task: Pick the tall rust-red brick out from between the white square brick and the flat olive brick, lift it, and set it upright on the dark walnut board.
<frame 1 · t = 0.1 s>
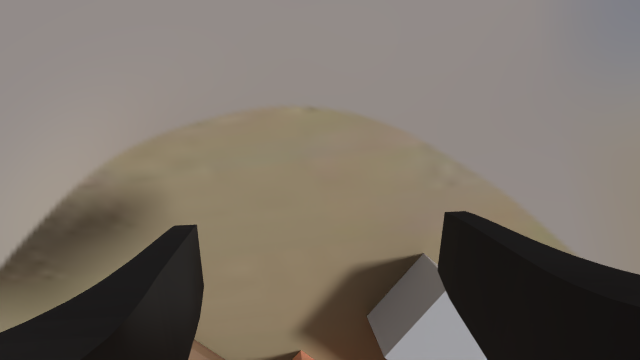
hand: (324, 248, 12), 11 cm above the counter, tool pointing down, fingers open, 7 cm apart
white square brick: (423, 307, 25), on the counter
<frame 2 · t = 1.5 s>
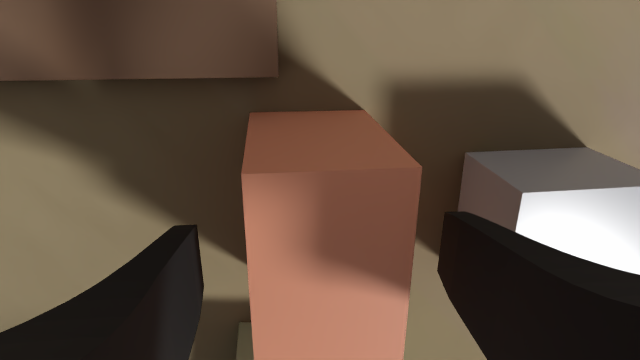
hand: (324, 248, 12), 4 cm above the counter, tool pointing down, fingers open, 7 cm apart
flat olive brick: (308, 354, 19), on the counter
white square brick: (514, 206, 17), on the counter
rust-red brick: (308, 194, 16), on the counter
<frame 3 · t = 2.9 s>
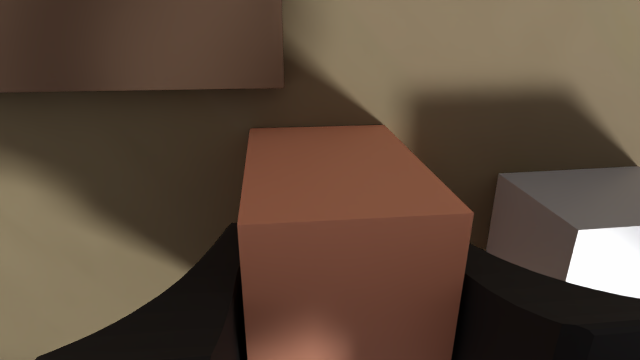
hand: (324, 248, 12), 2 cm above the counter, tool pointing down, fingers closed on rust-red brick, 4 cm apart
white square brick: (552, 233, 15), on the counter
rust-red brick: (317, 222, 14), on the counter, touching gripper
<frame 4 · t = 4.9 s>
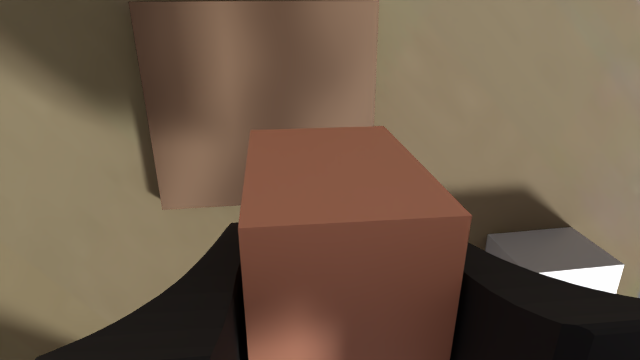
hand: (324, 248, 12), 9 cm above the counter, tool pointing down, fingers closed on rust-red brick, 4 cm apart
white square brick: (521, 266, 25), on the counter
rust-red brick: (318, 223, 14), point 7 cm above the counter, touching gripper
walnut board: (264, 107, 19), on the counter
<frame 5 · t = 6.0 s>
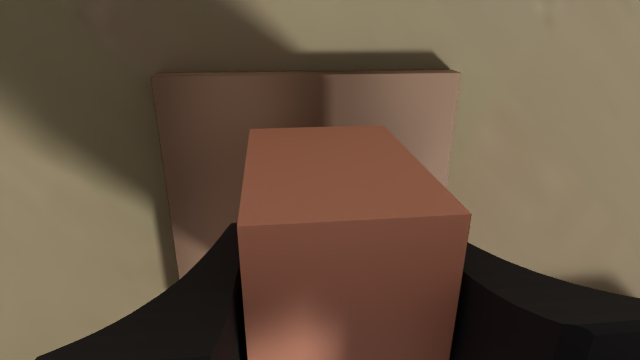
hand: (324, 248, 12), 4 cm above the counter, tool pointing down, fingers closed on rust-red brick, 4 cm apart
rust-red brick: (317, 222, 14), point 2 cm above the counter, touching gripper
walnut board: (310, 193, 16), on the counter
when the fingers open (4 cm above the counter, at t = 6.9 s): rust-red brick drops 1 cm, resting on walnut board.
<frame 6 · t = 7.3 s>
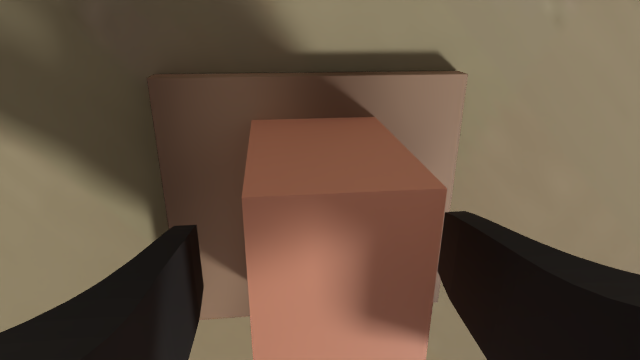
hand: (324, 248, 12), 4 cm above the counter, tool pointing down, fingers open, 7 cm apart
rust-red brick: (314, 208, 15), point 1 cm above the counter, touching walnut board
walnut board: (311, 197, 16), on the counter
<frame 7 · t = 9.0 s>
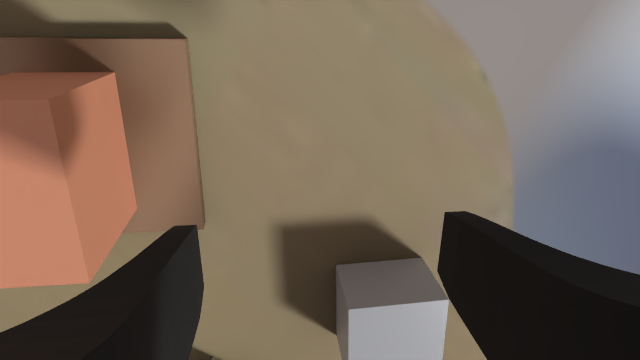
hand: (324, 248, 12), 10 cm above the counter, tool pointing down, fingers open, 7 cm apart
white square brick: (377, 296, 25), on the counter
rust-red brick: (79, 145, 19), point 1 cm above the counter, touching walnut board
walnut board: (86, 139, 20), on the counter
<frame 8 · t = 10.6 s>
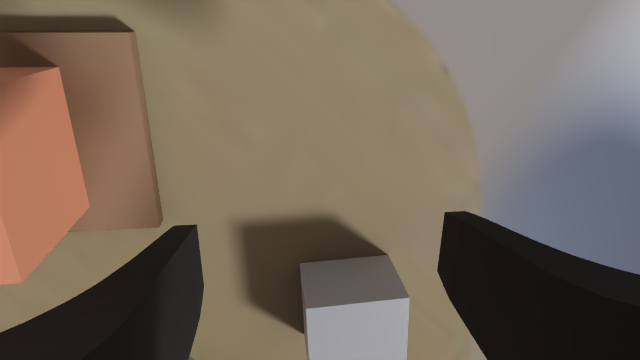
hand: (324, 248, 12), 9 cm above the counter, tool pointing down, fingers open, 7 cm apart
white square brick: (344, 294, 25), on the counter
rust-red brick: (26, 142, 18), point 1 cm above the counter, touching walnut board
walnut board: (35, 136, 19), on the counter
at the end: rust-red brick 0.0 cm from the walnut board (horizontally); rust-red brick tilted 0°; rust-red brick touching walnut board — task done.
